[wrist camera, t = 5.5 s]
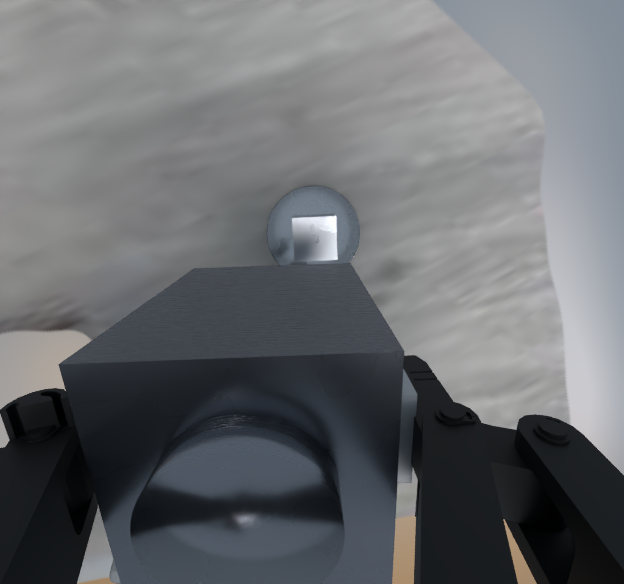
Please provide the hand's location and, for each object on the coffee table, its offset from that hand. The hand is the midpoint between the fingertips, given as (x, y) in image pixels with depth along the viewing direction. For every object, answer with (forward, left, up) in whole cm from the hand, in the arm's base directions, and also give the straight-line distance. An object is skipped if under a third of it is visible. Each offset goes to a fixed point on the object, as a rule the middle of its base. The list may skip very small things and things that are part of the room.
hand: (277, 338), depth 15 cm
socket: (0, 0, 0) cm, 0 cm away
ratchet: (+2, -7, -18) cm, 19 cm away
